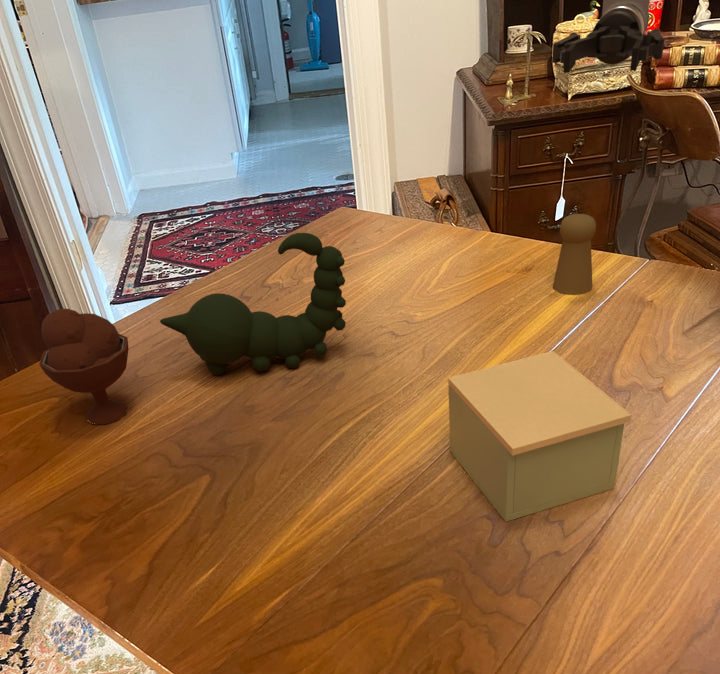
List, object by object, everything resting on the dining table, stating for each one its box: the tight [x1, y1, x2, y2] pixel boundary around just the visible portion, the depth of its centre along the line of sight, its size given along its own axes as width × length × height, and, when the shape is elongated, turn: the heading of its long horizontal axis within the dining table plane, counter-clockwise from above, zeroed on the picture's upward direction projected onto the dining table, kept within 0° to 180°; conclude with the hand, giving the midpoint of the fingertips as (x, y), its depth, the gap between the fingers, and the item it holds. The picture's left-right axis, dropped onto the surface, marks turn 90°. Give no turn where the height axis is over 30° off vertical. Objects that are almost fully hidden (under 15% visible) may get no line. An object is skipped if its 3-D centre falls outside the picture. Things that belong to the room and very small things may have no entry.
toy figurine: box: [159, 232, 347, 376], centre depth 99 cm, size 9×19×25 cm
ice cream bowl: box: [38, 308, 130, 425], centre depth 93 cm, size 11×11×15 cm
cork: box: [552, 213, 597, 295], centre depth 112 cm, size 6×6×11 cm
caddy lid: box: [447, 350, 632, 455], centre depth 74 cm, size 14×13×1 cm
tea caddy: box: [448, 384, 625, 522], centre depth 78 cm, size 14×13×9 cm
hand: (600, 60), depth 103 cm, fingers open, 8 cm apart
